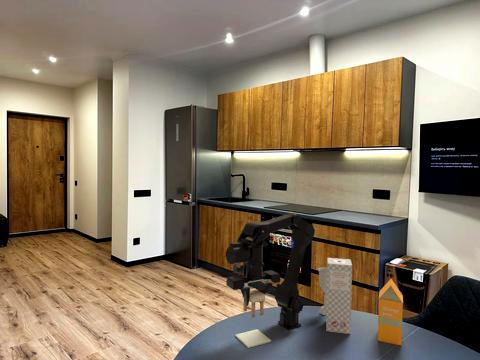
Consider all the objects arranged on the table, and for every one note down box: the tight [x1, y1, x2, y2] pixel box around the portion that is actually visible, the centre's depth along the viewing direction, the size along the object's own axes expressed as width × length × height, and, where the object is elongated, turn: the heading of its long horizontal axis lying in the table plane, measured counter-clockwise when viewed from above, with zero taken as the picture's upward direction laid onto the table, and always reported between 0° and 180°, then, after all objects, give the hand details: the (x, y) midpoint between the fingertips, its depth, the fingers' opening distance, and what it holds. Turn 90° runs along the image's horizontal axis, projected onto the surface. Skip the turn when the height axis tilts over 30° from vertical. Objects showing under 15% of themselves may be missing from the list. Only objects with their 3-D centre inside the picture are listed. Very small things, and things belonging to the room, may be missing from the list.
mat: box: [234, 328, 272, 349], centre depth 117 cm, size 9×9×1 cm
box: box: [325, 257, 353, 335], centre depth 126 cm, size 8×8×25 cm
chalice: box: [317, 266, 327, 316], centre depth 139 cm, size 7×7×18 cm
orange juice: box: [377, 278, 404, 346], centre depth 120 cm, size 8×9×20 cm
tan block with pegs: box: [241, 287, 266, 318], centre depth 117 cm, size 7×5×7 cm
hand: (253, 304), depth 117 cm, fingers closed on tan block with pegs, 5 cm apart
